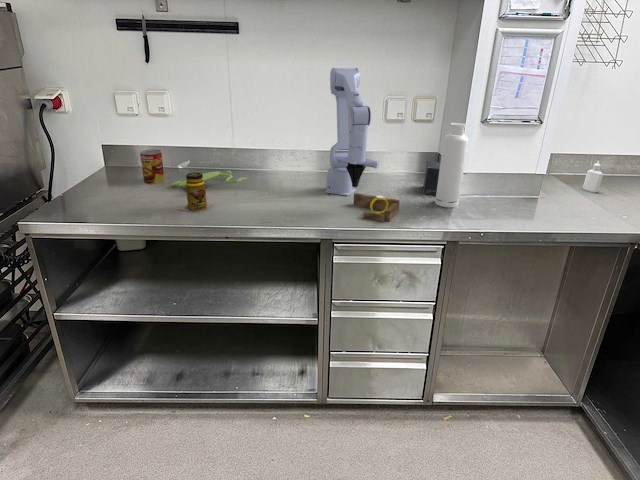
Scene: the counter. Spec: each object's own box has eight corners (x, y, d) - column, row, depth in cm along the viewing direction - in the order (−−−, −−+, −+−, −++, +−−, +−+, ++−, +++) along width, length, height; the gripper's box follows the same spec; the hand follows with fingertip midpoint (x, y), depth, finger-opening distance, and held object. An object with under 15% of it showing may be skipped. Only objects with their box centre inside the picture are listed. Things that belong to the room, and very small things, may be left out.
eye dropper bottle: (588, 192, 172) (596, 162, 167) (580, 188, 177) (589, 159, 172) (599, 193, 172) (608, 163, 167) (591, 188, 177) (600, 159, 172)
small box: (440, 196, 165) (444, 168, 161) (423, 194, 167) (426, 167, 162) (439, 187, 175) (443, 161, 170) (423, 186, 176) (426, 160, 172)
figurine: (249, 191, 167) (249, 177, 165) (177, 200, 157) (175, 185, 155) (236, 178, 182) (235, 165, 180) (169, 185, 172) (168, 171, 170)
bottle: (437, 198, 163) (448, 121, 151) (460, 202, 159) (472, 123, 148) (432, 205, 156) (443, 124, 144) (455, 208, 153) (468, 127, 141)
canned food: (140, 181, 174) (135, 151, 169) (157, 177, 180) (152, 148, 175) (152, 185, 170) (148, 155, 165) (169, 181, 176) (165, 151, 171)
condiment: (201, 213, 144) (197, 178, 140) (178, 210, 147) (174, 175, 142) (212, 206, 151) (209, 172, 146) (190, 203, 153) (187, 169, 148)
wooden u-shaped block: (342, 214, 146) (342, 202, 145) (354, 203, 156) (355, 192, 154) (388, 222, 140) (389, 210, 138) (398, 211, 150) (399, 200, 148)
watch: (385, 212, 150) (387, 195, 147) (387, 214, 147) (390, 198, 145) (368, 211, 148) (370, 195, 146) (370, 214, 146) (373, 197, 143)
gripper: (331, 145, 140) (330, 186, 146) (374, 150, 135) (371, 193, 141) (340, 141, 146) (338, 180, 152) (382, 146, 141) (378, 187, 146)
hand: (355, 186), depth 147 cm, fingers closed
